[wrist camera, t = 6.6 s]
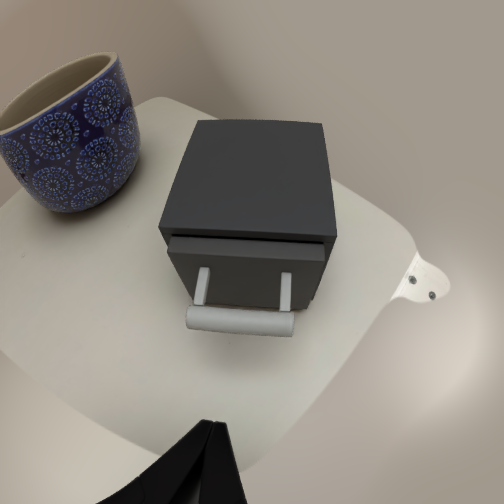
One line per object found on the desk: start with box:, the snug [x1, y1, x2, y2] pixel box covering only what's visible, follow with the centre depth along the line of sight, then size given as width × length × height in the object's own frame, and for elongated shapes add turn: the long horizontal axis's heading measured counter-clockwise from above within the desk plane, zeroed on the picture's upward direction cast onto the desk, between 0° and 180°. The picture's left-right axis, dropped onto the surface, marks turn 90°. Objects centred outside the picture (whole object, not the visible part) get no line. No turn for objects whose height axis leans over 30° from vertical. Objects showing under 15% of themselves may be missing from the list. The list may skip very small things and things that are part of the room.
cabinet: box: [158, 120, 337, 300], centre depth 23 cm, size 11×10×9 cm
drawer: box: [167, 235, 325, 337], centre depth 21 cm, size 14×9×8 cm, turn 175°
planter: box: [0, 52, 140, 213], centre depth 27 cm, size 17×17×15 cm
